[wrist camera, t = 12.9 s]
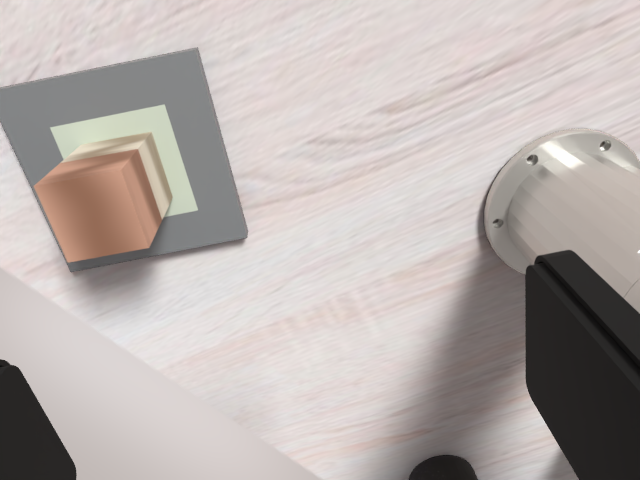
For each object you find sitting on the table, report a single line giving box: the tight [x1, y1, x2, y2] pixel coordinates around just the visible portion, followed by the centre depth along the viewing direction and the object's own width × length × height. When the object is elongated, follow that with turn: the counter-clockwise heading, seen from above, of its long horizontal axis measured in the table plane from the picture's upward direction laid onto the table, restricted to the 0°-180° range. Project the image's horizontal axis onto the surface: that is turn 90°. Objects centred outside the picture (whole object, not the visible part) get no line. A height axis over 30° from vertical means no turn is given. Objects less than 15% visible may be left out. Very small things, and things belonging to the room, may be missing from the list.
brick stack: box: [34, 132, 173, 263], centre depth 34 cm, size 5×5×8 cm
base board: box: [0, 47, 248, 272], centre depth 38 cm, size 14×14×1 cm
